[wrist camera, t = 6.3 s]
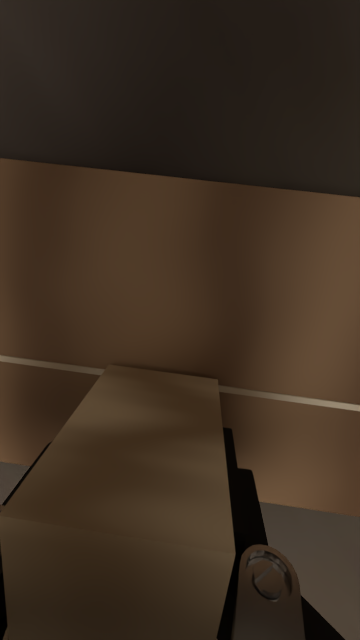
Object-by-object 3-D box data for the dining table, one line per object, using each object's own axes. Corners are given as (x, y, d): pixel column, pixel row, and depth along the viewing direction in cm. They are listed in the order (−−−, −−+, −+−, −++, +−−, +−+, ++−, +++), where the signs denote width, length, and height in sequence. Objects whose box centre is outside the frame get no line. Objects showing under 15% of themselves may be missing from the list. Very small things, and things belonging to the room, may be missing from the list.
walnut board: (474, 221, 11) (552, 217, 8) (377, 476, 14) (413, 526, 12) (-265, 140, 12) (-383, 116, 10) (-193, 392, 16) (-267, 421, 13)
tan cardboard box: (226, 356, 13) (266, 559, 5) (204, 484, 15) (206, 777, 7) (113, 341, 13) (-31, 511, 5) (106, 470, 15) (-3, 736, 7)
